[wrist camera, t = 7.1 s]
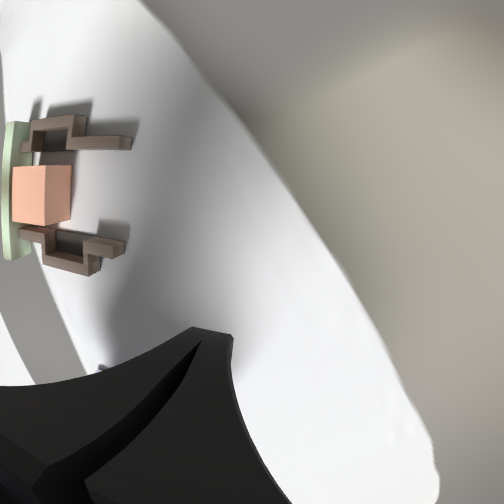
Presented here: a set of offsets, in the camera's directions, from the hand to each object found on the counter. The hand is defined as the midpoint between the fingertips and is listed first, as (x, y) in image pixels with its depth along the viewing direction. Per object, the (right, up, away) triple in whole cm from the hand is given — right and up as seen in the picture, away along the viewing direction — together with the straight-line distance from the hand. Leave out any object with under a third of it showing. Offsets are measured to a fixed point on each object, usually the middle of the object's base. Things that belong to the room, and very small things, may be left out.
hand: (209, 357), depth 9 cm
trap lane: (-12, +8, +9) cm, 17 cm away
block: (-14, +8, +10) cm, 19 cm away
